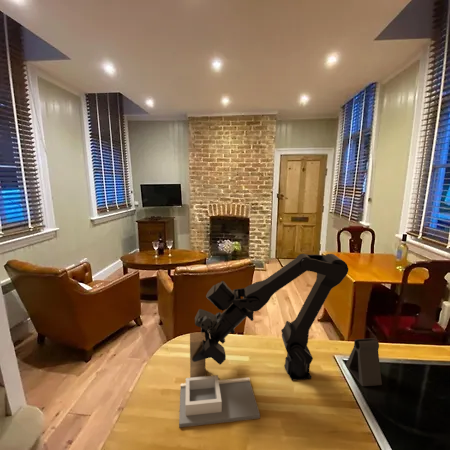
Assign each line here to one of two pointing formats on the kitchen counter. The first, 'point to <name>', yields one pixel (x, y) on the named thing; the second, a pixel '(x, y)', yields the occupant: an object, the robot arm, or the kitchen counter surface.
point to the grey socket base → (216, 401)
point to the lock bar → (195, 344)
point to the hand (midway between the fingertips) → (192, 355)
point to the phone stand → (365, 362)
